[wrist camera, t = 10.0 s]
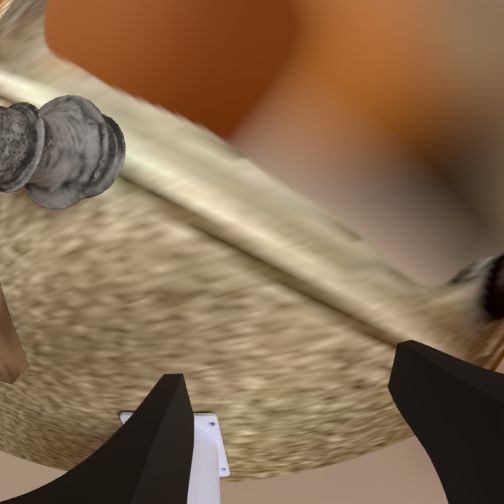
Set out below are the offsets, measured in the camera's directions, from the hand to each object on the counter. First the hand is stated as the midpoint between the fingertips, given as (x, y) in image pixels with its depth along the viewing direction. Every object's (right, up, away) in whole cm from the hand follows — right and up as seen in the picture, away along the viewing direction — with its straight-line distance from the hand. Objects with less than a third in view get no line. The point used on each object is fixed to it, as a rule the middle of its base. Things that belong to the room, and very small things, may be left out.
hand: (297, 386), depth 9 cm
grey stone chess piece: (-11, +10, +6) cm, 17 cm away
